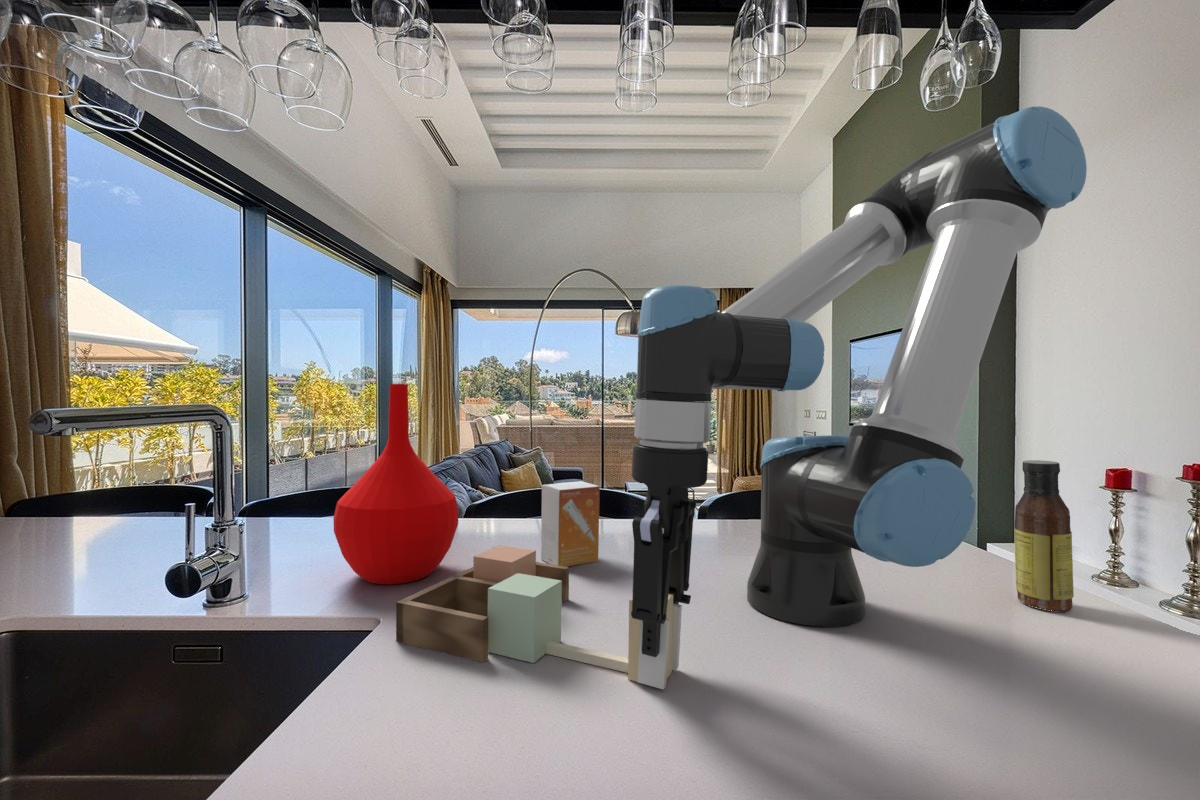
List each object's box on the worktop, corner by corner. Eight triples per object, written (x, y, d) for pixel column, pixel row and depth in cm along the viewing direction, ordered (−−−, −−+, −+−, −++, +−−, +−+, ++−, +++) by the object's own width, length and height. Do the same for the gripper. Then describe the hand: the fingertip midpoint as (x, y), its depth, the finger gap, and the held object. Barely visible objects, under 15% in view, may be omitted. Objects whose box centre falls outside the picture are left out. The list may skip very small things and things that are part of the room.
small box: (558, 569, 91) (558, 489, 90) (540, 559, 96) (540, 484, 96) (599, 561, 95) (600, 485, 95) (580, 552, 100) (581, 480, 100)
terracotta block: (535, 600, 77) (535, 550, 77) (511, 616, 72) (511, 562, 72) (499, 594, 80) (499, 545, 80) (473, 608, 74) (473, 556, 74)
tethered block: (675, 666, 59) (676, 590, 59) (657, 693, 53) (658, 610, 53) (517, 631, 67) (517, 564, 67) (487, 651, 62) (488, 579, 62)
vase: (406, 603, 76) (407, 383, 75) (304, 585, 82) (305, 382, 82) (480, 564, 93) (481, 385, 93) (391, 552, 99) (391, 384, 99)
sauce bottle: (1064, 601, 78) (1067, 460, 78) (1080, 617, 73) (1083, 465, 73) (1007, 594, 81) (1010, 457, 81) (1019, 609, 76) (1022, 462, 75)
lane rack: (568, 599, 78) (568, 567, 78) (482, 662, 59) (482, 620, 59) (496, 586, 82) (496, 556, 82) (396, 641, 64) (396, 602, 64)
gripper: (661, 435, 65) (650, 634, 66) (602, 446, 50) (589, 704, 51) (725, 441, 62) (714, 650, 62) (683, 454, 47) (669, 729, 47)
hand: (658, 673), depth 57 cm, fingers closed on tethered block, 3 cm apart
